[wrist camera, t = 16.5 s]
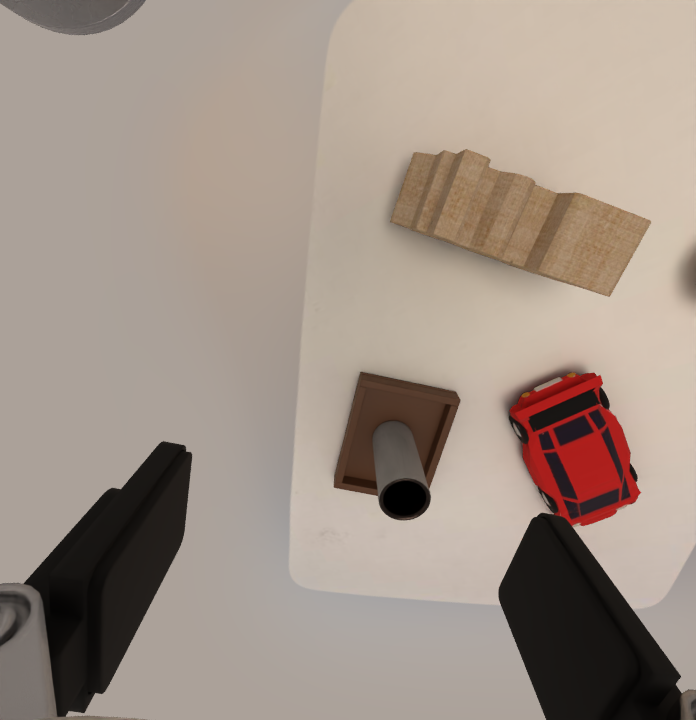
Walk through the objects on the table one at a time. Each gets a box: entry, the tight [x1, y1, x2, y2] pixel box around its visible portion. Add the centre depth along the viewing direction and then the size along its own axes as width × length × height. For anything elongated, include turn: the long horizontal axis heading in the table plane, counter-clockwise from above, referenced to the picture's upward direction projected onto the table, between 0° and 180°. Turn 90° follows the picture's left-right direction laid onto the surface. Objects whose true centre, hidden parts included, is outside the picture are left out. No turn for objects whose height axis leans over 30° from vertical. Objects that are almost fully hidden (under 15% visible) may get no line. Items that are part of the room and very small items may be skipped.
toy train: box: [390, 149, 651, 297], centre depth 32 cm, size 6×17×10 cm, turn 72°
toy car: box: [509, 372, 641, 527], centre depth 42 cm, size 10×20×5 cm, turn 32°
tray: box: [334, 372, 460, 496], centre depth 43 cm, size 14×11×2 cm
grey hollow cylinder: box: [372, 421, 431, 520], centre depth 39 cm, size 4×4×10 cm
